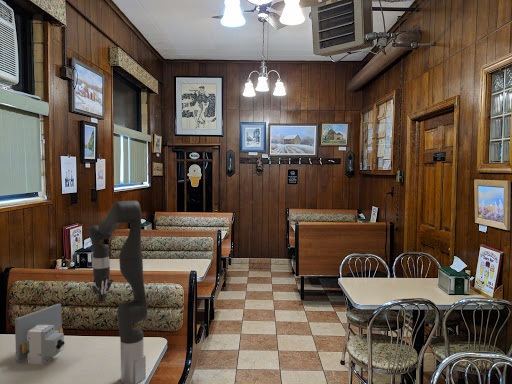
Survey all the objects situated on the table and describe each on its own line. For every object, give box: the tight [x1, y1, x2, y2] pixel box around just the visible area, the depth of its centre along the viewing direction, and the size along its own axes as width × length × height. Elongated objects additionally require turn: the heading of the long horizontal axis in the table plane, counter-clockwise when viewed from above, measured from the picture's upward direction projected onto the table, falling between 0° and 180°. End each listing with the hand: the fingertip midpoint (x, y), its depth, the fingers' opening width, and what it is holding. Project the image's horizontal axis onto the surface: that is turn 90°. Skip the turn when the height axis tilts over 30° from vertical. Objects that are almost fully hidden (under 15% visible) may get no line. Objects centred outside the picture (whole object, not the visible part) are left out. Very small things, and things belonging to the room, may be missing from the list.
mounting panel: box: [14, 303, 63, 363], centre depth 179 cm, size 2×22×20 cm, turn 155°
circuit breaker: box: [27, 325, 65, 365], centre depth 171 cm, size 8×14×15 cm, turn 87°
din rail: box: [21, 327, 64, 353], centre depth 178 cm, size 2×20×4 cm, turn 155°
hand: (101, 301), depth 179 cm, fingers closed
